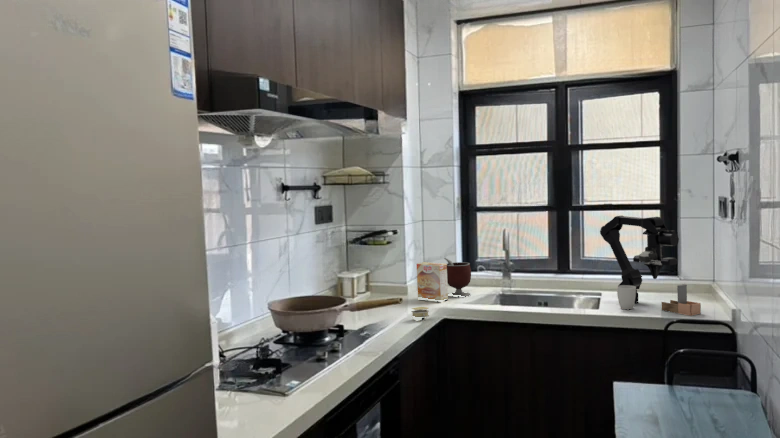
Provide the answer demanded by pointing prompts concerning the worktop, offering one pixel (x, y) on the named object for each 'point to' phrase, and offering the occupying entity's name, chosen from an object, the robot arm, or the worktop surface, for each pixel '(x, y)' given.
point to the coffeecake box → (432, 280)
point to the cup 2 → (689, 308)
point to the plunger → (682, 293)
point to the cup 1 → (626, 296)
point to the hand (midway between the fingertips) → (654, 278)
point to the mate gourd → (458, 276)
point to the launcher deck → (670, 306)
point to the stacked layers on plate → (420, 312)
